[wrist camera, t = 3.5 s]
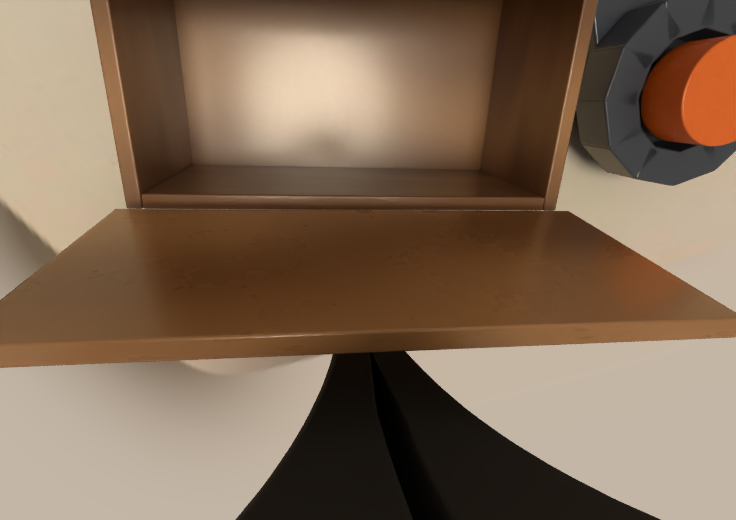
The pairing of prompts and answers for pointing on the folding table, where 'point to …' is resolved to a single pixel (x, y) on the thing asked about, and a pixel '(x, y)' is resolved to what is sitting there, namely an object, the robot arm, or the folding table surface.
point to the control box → (627, 79)
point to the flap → (341, 287)
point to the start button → (693, 93)
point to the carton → (342, 101)
